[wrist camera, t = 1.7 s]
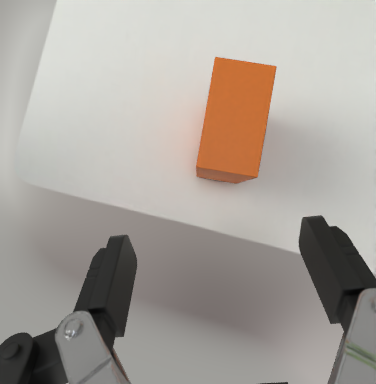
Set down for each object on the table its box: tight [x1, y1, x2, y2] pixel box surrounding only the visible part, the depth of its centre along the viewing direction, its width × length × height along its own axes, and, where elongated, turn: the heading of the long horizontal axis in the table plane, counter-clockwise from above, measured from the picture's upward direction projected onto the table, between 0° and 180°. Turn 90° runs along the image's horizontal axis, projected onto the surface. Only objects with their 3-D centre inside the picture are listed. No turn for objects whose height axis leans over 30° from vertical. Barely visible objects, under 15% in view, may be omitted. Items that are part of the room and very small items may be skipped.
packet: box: [196, 57, 276, 183], centre depth 24 cm, size 4×8×10 cm, turn 170°
